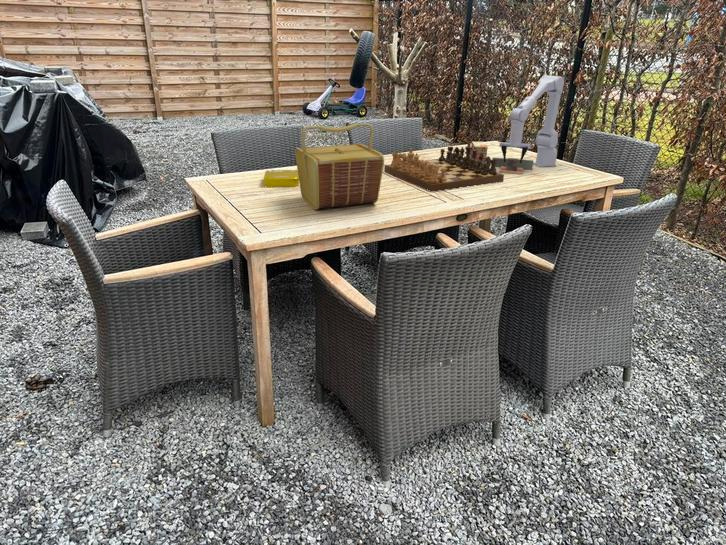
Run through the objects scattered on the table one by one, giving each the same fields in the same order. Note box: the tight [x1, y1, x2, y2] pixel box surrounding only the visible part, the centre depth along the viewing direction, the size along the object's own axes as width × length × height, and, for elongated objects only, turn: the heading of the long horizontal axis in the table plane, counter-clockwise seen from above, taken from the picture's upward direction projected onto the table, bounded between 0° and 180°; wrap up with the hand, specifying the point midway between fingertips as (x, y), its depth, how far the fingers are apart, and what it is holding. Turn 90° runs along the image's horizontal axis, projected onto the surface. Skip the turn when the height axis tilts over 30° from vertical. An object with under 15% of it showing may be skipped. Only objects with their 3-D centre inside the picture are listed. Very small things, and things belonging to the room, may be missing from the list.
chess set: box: [384, 141, 505, 192], centre depth 241 cm, size 40×40×15 cm
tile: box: [498, 166, 524, 176], centre depth 255 cm, size 11×11×1 cm
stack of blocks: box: [469, 141, 489, 165], centre depth 262 cm, size 21×6×12 cm, turn 176°
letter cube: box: [506, 157, 519, 171], centre depth 254 cm, size 5×5×5 cm
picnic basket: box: [294, 122, 385, 211], centre depth 198 cm, size 29×26×30 cm
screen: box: [491, 156, 534, 171], centre depth 260 cm, size 20×2×4 cm, turn 73°
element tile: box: [263, 169, 300, 188], centre depth 229 cm, size 15×15×5 cm
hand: (512, 162), depth 253 cm, fingers open, 7 cm apart
